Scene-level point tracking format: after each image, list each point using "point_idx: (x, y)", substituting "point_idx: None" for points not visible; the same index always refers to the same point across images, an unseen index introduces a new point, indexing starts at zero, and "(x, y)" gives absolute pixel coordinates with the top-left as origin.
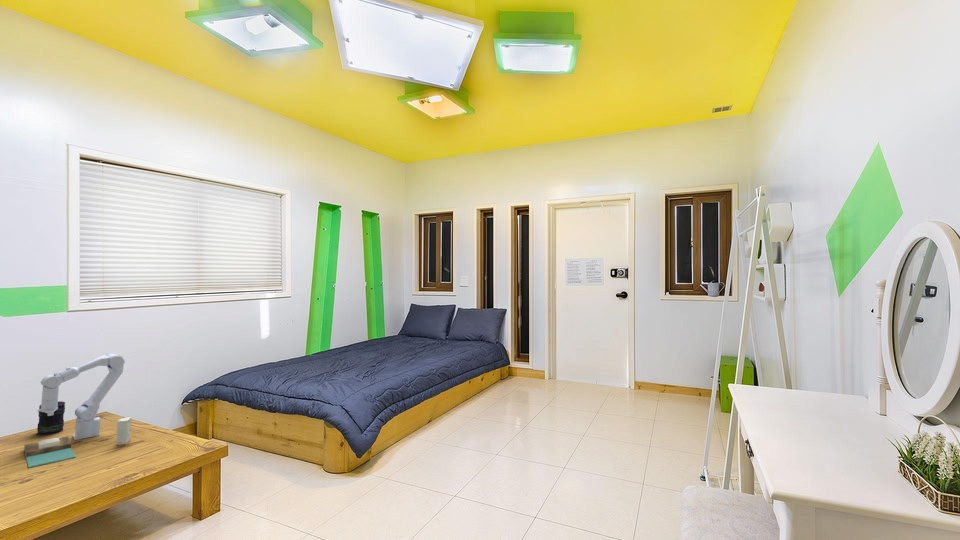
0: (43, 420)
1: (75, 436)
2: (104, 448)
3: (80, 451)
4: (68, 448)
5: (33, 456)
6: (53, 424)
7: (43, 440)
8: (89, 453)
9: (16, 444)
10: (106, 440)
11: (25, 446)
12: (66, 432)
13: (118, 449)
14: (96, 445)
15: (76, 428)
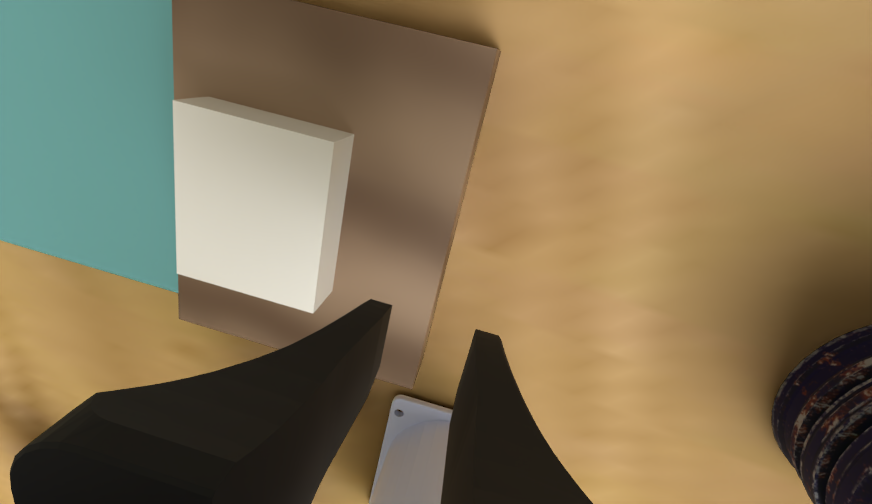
0: (475, 392)
1: (445, 427)
2: (69, 393)
3: (101, 300)
4: None
5: (165, 31)
6: (856, 485)
7: (310, 188)
8: (23, 310)
9: (812, 60)
10: None
11: (416, 35)
12: (701, 457)
13: (3, 417)
14: None
15: (420, 496)
